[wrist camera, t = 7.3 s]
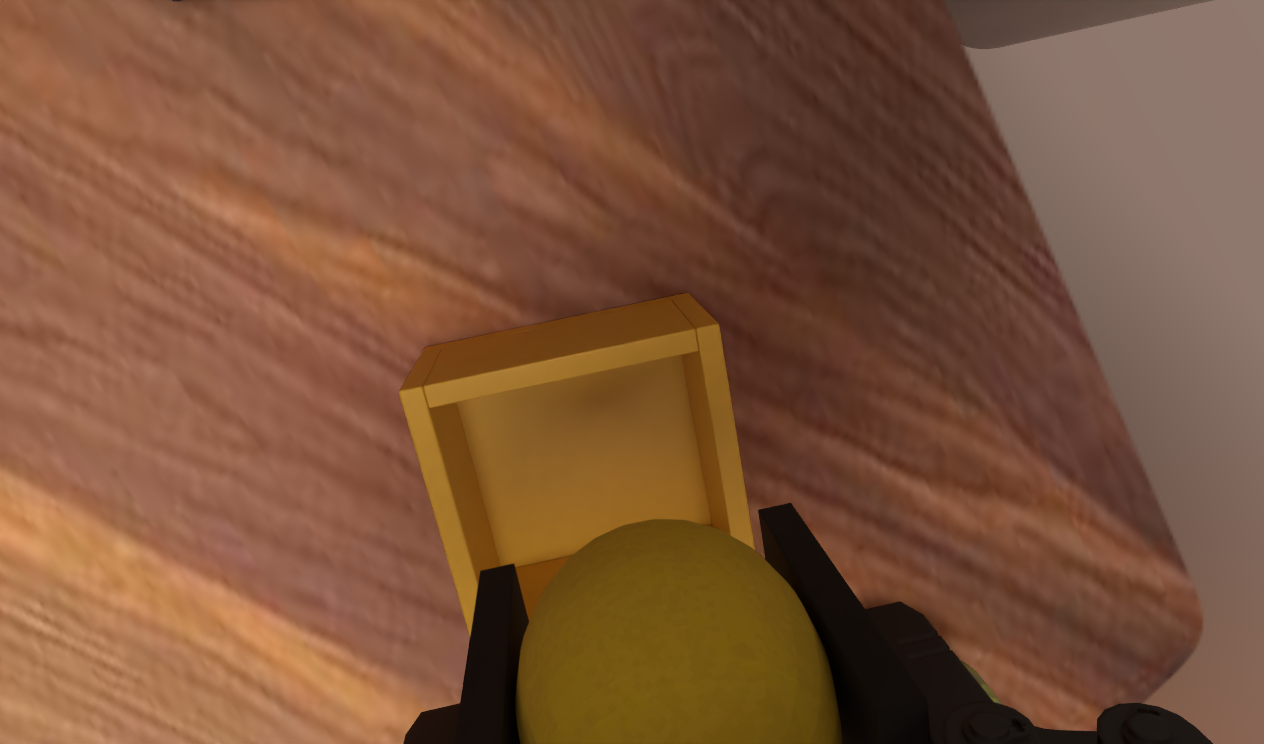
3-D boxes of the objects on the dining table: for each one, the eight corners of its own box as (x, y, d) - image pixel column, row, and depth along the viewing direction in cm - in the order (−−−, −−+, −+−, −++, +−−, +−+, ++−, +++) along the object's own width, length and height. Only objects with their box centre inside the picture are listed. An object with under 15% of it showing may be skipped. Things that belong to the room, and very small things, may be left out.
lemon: (789, 632, 19) (956, 970, 11) (567, 705, 19) (580, 1096, 11) (730, 425, 17) (878, 653, 9) (487, 504, 17) (437, 798, 9)
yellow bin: (688, 291, 31) (719, 323, 26) (728, 527, 34) (763, 600, 29) (424, 347, 31) (397, 391, 25) (489, 580, 34) (477, 666, 28)
